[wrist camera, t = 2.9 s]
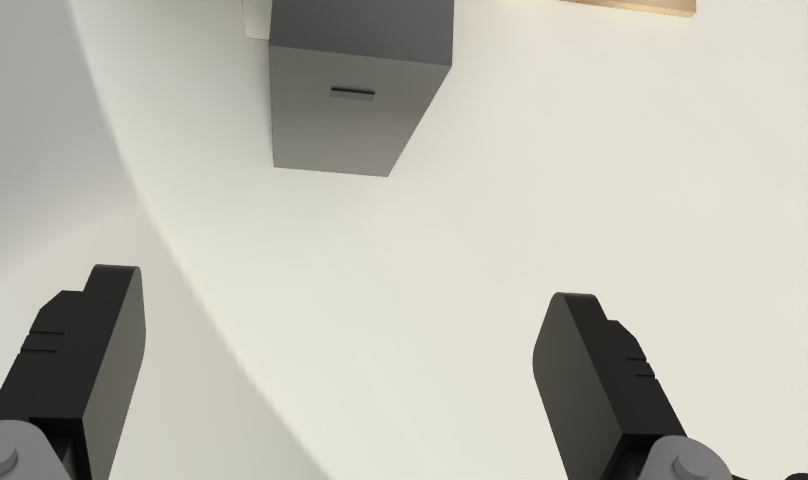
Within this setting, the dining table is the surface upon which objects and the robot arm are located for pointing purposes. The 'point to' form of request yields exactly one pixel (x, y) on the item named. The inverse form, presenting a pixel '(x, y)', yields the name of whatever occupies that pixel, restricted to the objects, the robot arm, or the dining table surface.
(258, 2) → the power strip
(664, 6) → the coaster
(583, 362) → the robot arm
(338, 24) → the block
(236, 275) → the dining table surface
